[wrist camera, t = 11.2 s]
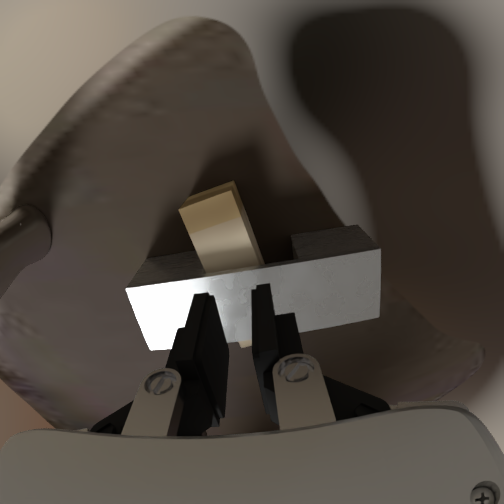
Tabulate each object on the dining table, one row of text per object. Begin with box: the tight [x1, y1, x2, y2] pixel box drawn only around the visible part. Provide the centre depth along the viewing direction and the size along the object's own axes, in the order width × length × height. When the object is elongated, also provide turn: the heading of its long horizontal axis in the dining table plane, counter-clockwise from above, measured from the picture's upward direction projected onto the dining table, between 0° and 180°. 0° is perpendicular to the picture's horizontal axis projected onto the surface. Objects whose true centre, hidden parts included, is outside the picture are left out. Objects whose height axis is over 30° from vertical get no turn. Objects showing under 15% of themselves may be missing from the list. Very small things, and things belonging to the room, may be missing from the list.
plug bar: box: [179, 180, 265, 348], centre depth 26 cm, size 13×4×4 cm, turn 19°
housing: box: [126, 225, 381, 350], centre depth 26 cm, size 6×19×6 cm, turn 100°
